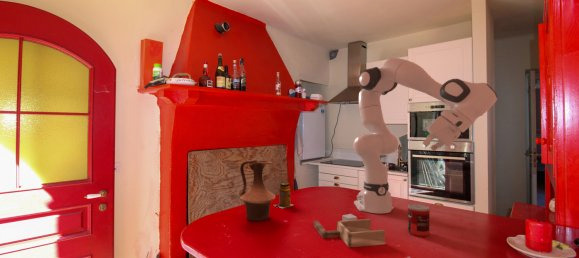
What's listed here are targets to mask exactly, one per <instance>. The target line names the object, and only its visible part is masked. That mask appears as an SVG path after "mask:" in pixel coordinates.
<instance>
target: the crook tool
mask: <svg viewBox="0 0 579 258" xmlns="http://www.w3.org/2000/svg"><path fill="white" fill-rule="evenodd" d="M313 226H314V228H315V230H316V231H317V232H318V234H319V235H320V236H321V237H320V238H322V239H330V238H341V237H340V232H339V231H338V230H337V229H336V230H326V229H325V228H324V226H323V225H322V224H321V223H320V222H319V220H313Z"/></svg>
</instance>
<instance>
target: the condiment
mask: <svg viewBox="0 0 579 258" xmlns="http://www.w3.org/2000/svg"><path fill="white" fill-rule="evenodd" d="M278 191H279V192H278V197H279V201H278V202H279V203H277V204H273V206H274V207H276V206H278V207H279V208H281V209H285V208H290V207H292V206H294V204H291V188H290V183H289V182H288V183H287V182H281V183H280V184H279V190H278ZM279 205H280V206H279ZM278 207H277V208H278Z"/></svg>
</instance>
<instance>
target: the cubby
mask: <svg viewBox="0 0 579 258" xmlns="http://www.w3.org/2000/svg"><path fill="white" fill-rule="evenodd" d="M336 230H338V231H339V232H340V237H339V238H340V239H341V240H342V241H343V242H344V243H345V244H346V246H347V247H348V248H358V247H369V246H370V247H371V246H379V245H380V246H381V245H386V230H385V229H376V230H371V219H370V218H365V219H357V220H347V221H342V220H337V221H336Z"/></svg>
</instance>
